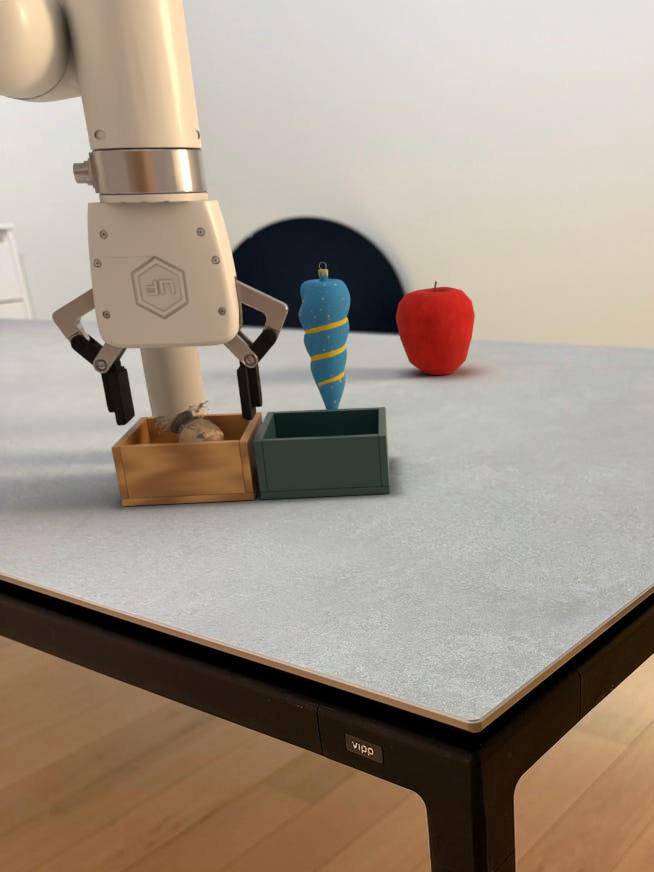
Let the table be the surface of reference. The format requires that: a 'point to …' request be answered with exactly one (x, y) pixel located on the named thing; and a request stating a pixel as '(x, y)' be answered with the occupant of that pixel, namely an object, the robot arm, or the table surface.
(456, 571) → the table surface
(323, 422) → the can bin
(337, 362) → the ornament
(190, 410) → the vase
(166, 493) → the bin
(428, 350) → the apple
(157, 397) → the beverage can
